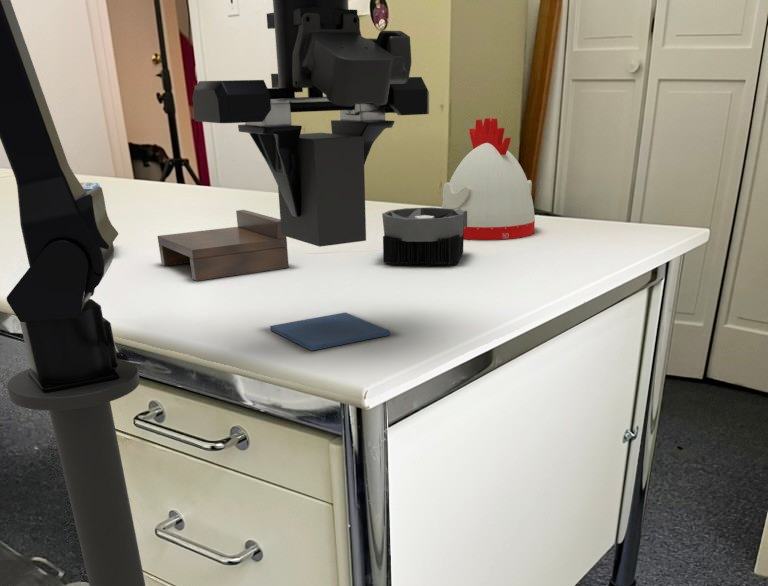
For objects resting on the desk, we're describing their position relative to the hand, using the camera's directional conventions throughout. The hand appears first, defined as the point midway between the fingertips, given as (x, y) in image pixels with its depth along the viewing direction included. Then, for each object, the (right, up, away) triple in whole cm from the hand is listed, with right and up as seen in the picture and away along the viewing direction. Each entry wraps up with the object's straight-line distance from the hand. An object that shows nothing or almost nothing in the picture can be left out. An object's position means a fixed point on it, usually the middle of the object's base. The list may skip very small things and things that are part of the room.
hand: (321, 213), depth 68 cm
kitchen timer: (+20, +16, +50) cm, 57 cm away
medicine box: (-34, +10, +41) cm, 54 cm away
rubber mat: (0, -9, +5) cm, 10 cm away
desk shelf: (-15, +5, +32) cm, 36 cm away
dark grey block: (0, -2, +1) cm, 2 cm away
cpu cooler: (+10, +6, +33) cm, 36 cm away
